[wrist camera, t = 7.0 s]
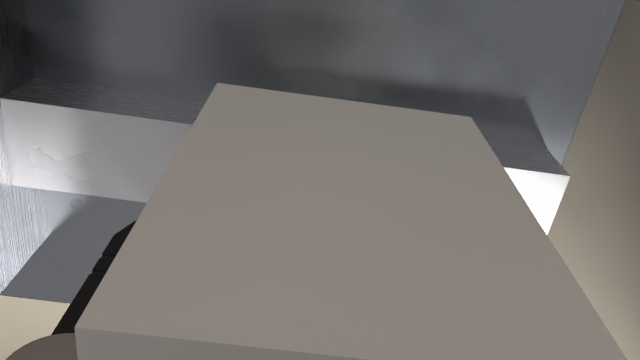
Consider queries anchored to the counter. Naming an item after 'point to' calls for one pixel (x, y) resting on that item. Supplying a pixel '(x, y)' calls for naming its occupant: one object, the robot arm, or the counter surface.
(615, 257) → the counter surface
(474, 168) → the block
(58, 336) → the robot arm
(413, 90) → the rail plate
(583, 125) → the counter surface
